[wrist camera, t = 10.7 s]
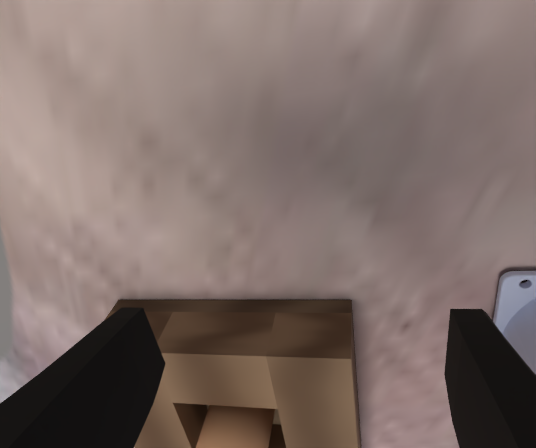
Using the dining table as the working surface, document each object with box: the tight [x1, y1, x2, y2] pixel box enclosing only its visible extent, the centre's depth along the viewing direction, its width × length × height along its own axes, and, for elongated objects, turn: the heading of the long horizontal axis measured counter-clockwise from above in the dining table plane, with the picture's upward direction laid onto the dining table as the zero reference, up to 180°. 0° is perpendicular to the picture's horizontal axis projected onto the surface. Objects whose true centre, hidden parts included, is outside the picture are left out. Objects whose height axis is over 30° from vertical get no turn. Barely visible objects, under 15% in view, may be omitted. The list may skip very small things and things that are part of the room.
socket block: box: [105, 300, 361, 448], centre depth 26 cm, size 14×14×4 cm
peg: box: [196, 405, 275, 448], centre depth 24 cm, size 4×4×7 cm
